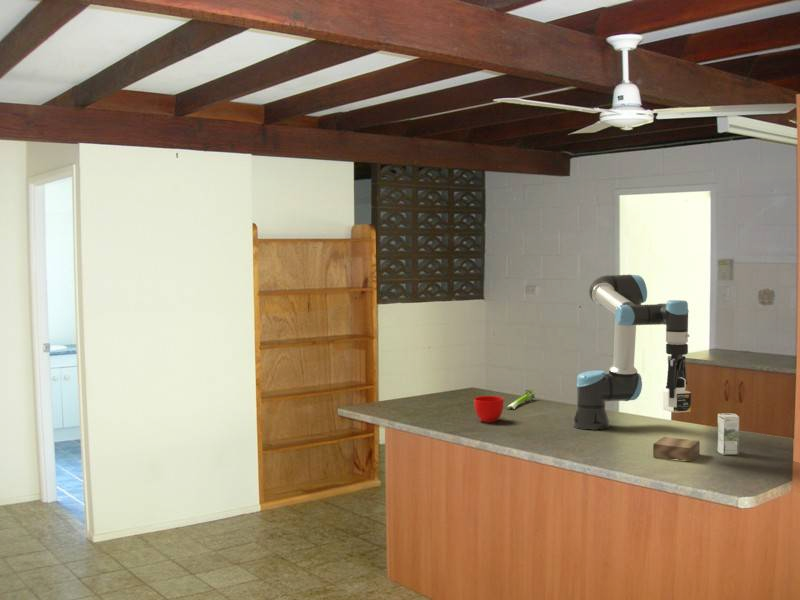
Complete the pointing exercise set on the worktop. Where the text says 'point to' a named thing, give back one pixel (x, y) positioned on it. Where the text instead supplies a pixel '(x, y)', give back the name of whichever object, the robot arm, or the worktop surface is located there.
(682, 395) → the medicine bottle
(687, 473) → the worktop surface
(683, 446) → the walnut base
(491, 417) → the ceramic cup
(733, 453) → the syrup box
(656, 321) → the robot arm
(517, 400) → the leek
